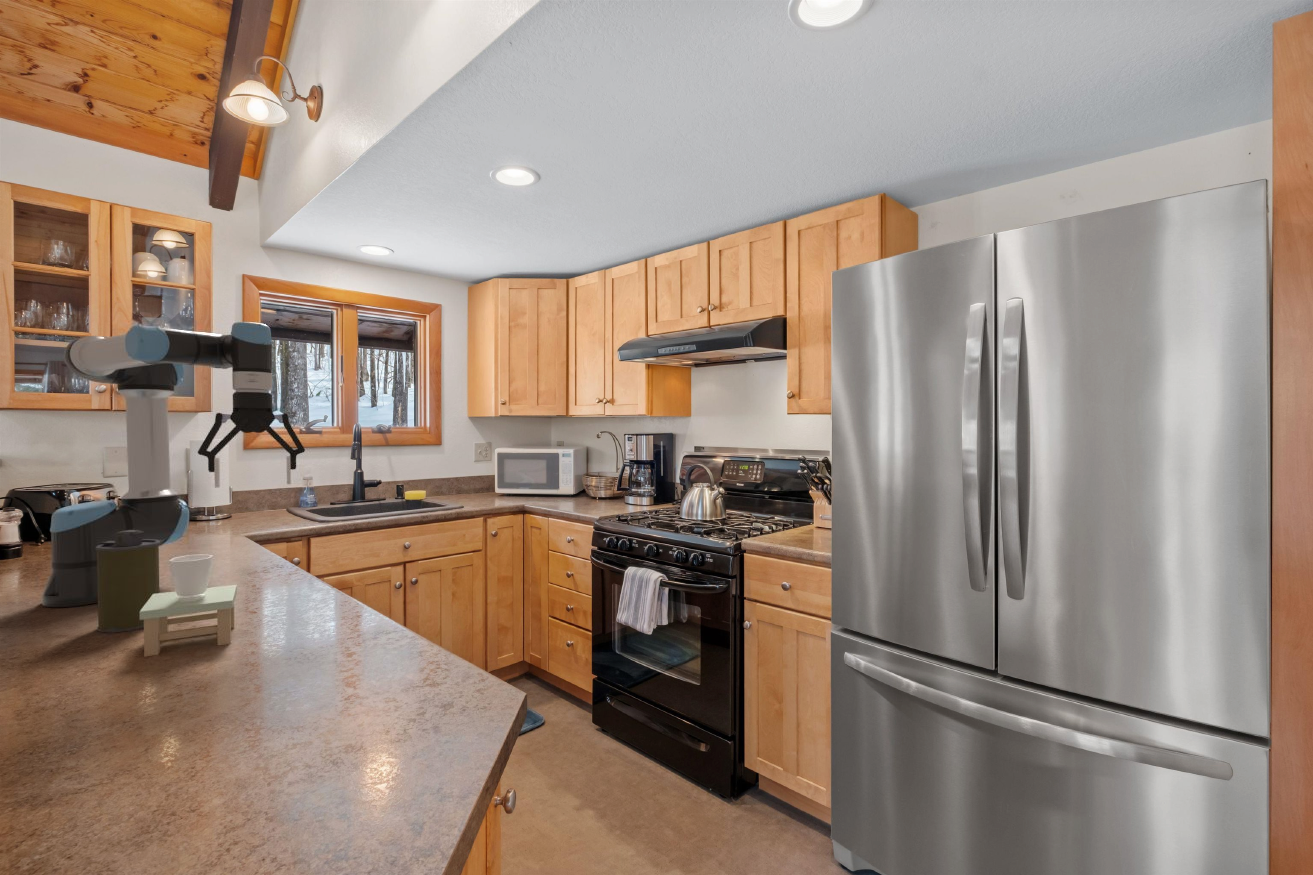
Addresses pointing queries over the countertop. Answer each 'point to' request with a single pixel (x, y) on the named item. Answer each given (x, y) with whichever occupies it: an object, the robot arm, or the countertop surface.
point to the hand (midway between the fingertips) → (253, 485)
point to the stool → (187, 616)
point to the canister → (126, 580)
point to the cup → (191, 576)
